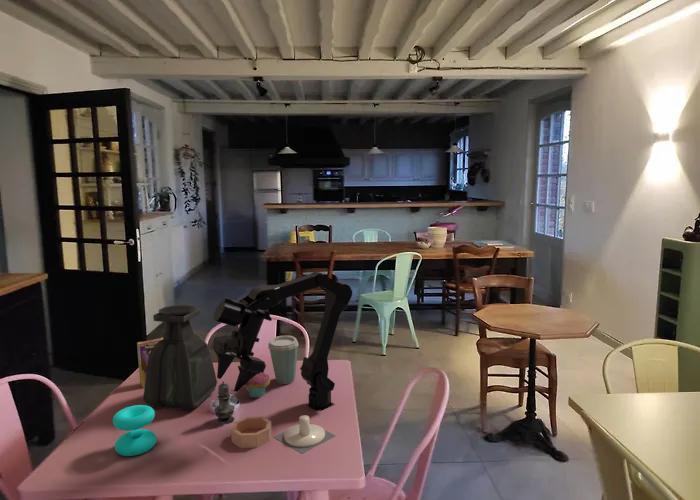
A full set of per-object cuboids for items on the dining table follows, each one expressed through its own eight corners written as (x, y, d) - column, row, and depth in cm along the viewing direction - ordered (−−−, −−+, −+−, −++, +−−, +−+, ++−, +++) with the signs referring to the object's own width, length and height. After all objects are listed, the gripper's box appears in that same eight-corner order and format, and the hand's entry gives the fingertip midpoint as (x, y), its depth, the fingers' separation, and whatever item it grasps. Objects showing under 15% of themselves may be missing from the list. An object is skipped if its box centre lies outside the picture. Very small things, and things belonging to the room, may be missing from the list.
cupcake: (247, 401, 152) (246, 365, 150) (240, 391, 159) (239, 357, 158) (273, 396, 156) (272, 360, 154) (265, 386, 163) (264, 352, 162)
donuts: (139, 400, 131) (162, 408, 126) (141, 434, 132) (164, 444, 127) (104, 414, 122) (127, 424, 117) (107, 451, 124) (130, 462, 118)
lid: (306, 422, 137) (306, 404, 136) (333, 435, 129) (333, 417, 128) (275, 437, 129) (275, 418, 128) (302, 452, 121) (302, 432, 121)
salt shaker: (229, 426, 136) (228, 385, 135) (210, 424, 137) (208, 384, 136) (238, 416, 142) (237, 377, 140) (220, 414, 143) (218, 376, 142)
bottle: (219, 391, 160) (215, 303, 156) (195, 414, 144) (190, 316, 140) (170, 388, 163) (165, 301, 159) (141, 409, 147) (134, 314, 143)
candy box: (165, 378, 171) (163, 336, 170) (169, 381, 168) (167, 339, 166) (139, 384, 166) (136, 341, 164) (142, 388, 163) (139, 345, 161)
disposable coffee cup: (297, 386, 163) (296, 344, 161) (266, 387, 163) (264, 344, 161) (301, 374, 173) (300, 334, 171) (271, 375, 173) (270, 334, 171)
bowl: (256, 426, 136) (256, 413, 135) (278, 439, 129) (277, 425, 128) (225, 440, 129) (224, 426, 128) (247, 454, 122) (246, 439, 121)
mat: (306, 423, 137) (306, 421, 137) (336, 437, 129) (336, 435, 129) (273, 439, 129) (273, 437, 129) (302, 455, 121) (302, 453, 120)
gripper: (207, 315, 134) (186, 368, 132) (243, 335, 121) (219, 395, 119) (239, 323, 142) (219, 373, 140) (276, 343, 129) (254, 399, 127)
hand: (227, 384), depth 131 cm, fingers open, 9 cm apart
